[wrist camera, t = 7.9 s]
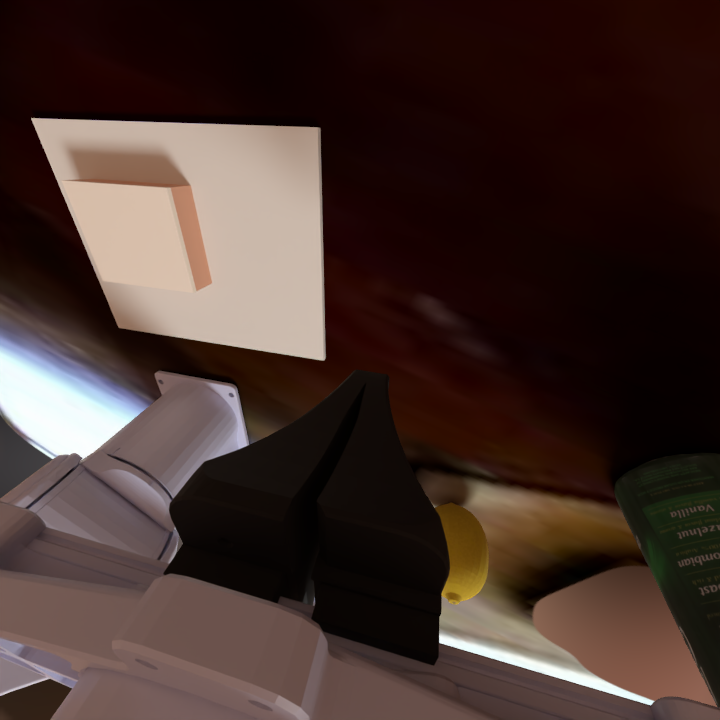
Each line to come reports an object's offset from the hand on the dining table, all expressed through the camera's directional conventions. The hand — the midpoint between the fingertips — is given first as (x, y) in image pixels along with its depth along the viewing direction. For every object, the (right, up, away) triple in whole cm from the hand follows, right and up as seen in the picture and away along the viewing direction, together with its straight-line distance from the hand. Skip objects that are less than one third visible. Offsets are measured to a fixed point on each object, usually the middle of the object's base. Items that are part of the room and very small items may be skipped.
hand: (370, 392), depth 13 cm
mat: (-11, +9, +9) cm, 17 cm away
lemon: (+8, -12, +17) cm, 22 cm away
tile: (-11, +9, +7) cm, 16 cm away
